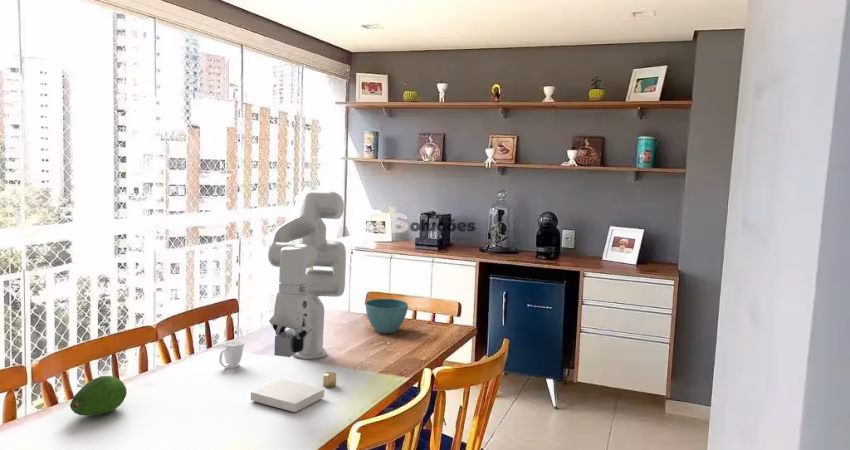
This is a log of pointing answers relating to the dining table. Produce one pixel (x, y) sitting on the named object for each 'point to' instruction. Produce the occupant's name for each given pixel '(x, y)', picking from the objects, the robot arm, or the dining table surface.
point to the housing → (286, 343)
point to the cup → (232, 353)
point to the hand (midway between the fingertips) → (289, 348)
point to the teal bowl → (386, 314)
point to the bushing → (329, 380)
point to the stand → (287, 395)
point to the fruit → (99, 396)
